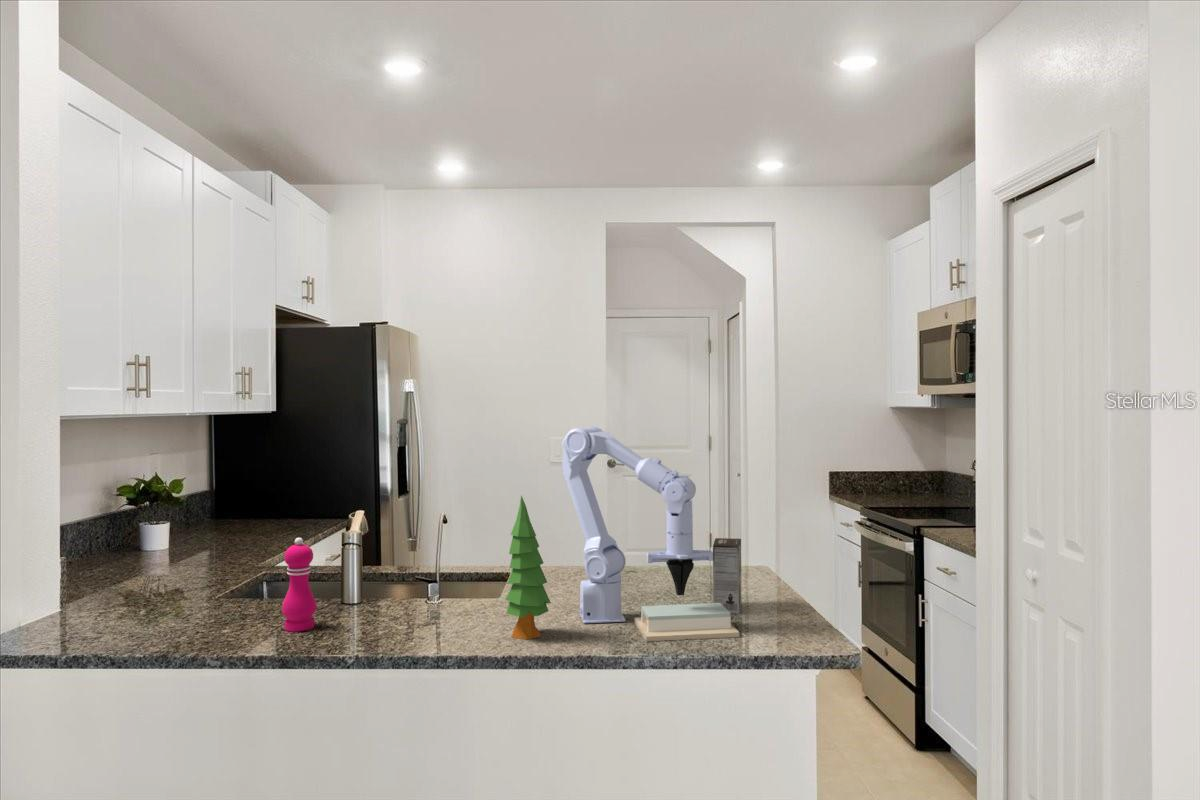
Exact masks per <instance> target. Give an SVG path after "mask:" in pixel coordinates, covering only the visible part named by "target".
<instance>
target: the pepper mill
mask: <svg viewBox="0 0 1200 800" xmlns="http://www.w3.org/2000/svg"><path fill="white" fill-rule="evenodd" d="M303 543H304V539H303V538H302V537H296V538H295V539H294V544H293V545H290V546H289V547H288V548H287V549H286V551H285V553H284V562H285V564H286V565H287V568H286V574H287V575H288V577H289V586H288V589H287V592H286V594H285V597H284V599H283V602H282V606H281V613H282V615H283V616H284V617H285V618H286V619H285V620H284V623H283V624H284V626H283V627H284V630H285V631H287V632H293V633H294V632H297V633H298V632H305V631H309V630H311V629H314V627H315V625H316V624H315V620H316V619H315V617H313V615H314V614H315V613H316V612H317V609H318V607H317V601H316V598H315V596H314V593H313V592H312V590H311V587H310V582H309V581H310V580H309V578H310V573H311V572H312V570H311V568H312V566H311V563H312V562H313V559H314V552H313V549H312V548H311V547H310V546H309V545H307V544H303Z"/></svg>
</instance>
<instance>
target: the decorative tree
mask: <svg viewBox="0 0 1200 800" xmlns="http://www.w3.org/2000/svg"><path fill="white" fill-rule="evenodd" d="M510 536H512V537H511V538H512V539H511V543H510V547H509V553H508V555H511V558H510V559H511V560H510V565H509V569H512V570H511V573H510V575H509V578H508V580H507V583H506V584H507V585H511V587H510V589H509V591H508V593H507V595H506V597H505V601H507V602H509V604H508V606H507V609H506V612H505V613H506V615H507V614H508V615H511V616H514V617H518V619H517V622H516V624H515V625H514V628H513V631H512V634H511V638H514V639H516V638H517V639H522V640H532V639H535V638H540V637H542V634H541V633H540V631H539V630H538V628H537V627H536V624H535V623H536V622H535V617H539V616H541V615H543V614H545V613H548V612H549V608H548V606H547V604H550V603H551V600H550V598H549V596H548V594H547V591H546V589H545V586H544V584H546V583H548V581H547V578H546V575H545V574H544V571H543V569H542V567H541V565H543V564H545V562H544V560H543V558H542V556H541V553H540V552H539V549H538V548H539V547H540V545H539V542H538V540H537V538H536V537H537V534H536V532H535V529H534V527H533V525H532V522H531V519H530V516H529V512H528V508H527V505H526V503H525V502H524V498H523V496H522V495H520V501H519V508H518V511H517V515H516V519H515V523H514V525H513V527H512V530H511V533H510Z"/></svg>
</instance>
